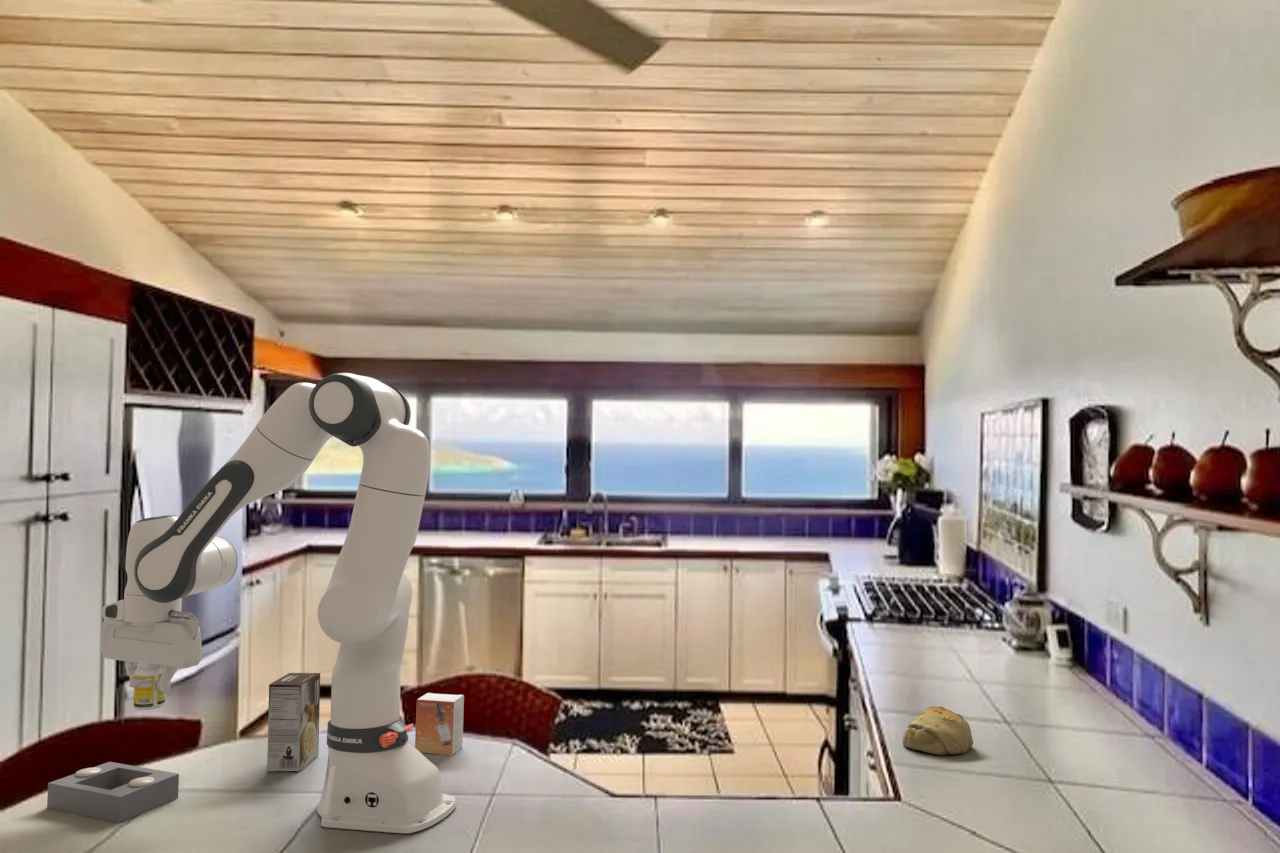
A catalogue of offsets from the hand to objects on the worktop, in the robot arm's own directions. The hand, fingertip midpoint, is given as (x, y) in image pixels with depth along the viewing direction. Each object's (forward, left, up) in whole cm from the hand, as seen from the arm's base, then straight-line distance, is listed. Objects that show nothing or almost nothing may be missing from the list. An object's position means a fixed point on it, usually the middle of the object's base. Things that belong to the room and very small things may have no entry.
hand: (149, 688), depth 151 cm
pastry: (-129, -77, -18) cm, 151 cm away
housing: (0, +6, -17) cm, 18 cm away
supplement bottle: (0, 0, -3) cm, 3 cm away
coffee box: (-14, -20, -18) cm, 30 cm away
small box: (-35, -37, -18) cm, 54 cm away
